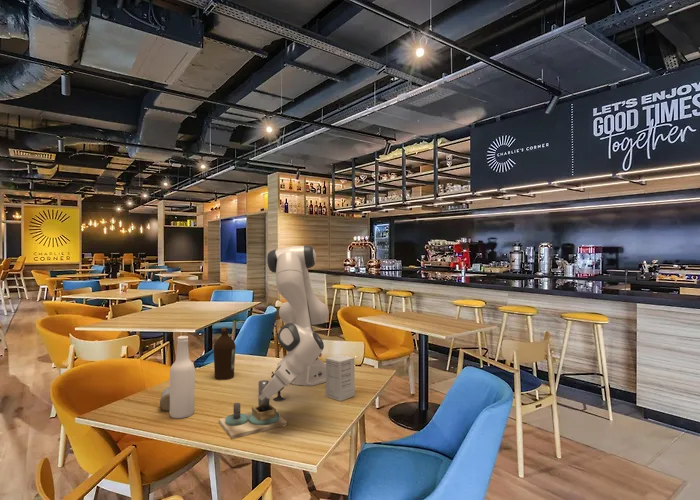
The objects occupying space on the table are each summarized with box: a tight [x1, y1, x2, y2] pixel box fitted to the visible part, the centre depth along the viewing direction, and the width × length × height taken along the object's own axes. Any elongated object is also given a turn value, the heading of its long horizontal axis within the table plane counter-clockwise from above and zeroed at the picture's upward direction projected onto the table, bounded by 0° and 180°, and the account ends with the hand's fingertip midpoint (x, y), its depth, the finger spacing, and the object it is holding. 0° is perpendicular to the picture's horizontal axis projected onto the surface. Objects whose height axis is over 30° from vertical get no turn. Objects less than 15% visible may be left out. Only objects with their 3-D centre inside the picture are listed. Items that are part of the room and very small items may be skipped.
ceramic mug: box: [159, 386, 170, 412], centre depth 159 cm, size 11×8×8 cm
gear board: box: [218, 402, 288, 440], centre depth 144 cm, size 20×16×7 cm
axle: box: [257, 379, 271, 412], centre depth 145 cm, size 4×4×11 cm
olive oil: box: [213, 326, 236, 381], centre depth 200 cm, size 11×11×25 cm
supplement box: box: [325, 354, 356, 402], centre depth 173 cm, size 10×9×17 cm
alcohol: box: [169, 335, 196, 420], centre depth 153 cm, size 9×9×30 cm
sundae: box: [271, 370, 286, 402], centre depth 169 cm, size 7×7×15 cm
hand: (262, 395), depth 145 cm, fingers closed on axle, 4 cm apart
